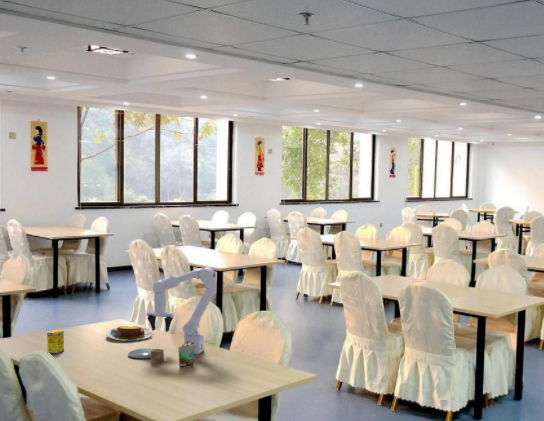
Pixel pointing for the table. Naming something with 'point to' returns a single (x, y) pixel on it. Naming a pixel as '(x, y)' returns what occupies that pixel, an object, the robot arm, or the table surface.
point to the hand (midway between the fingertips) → (160, 330)
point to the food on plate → (129, 333)
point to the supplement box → (55, 342)
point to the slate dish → (140, 353)
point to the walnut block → (157, 356)
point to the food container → (186, 354)
